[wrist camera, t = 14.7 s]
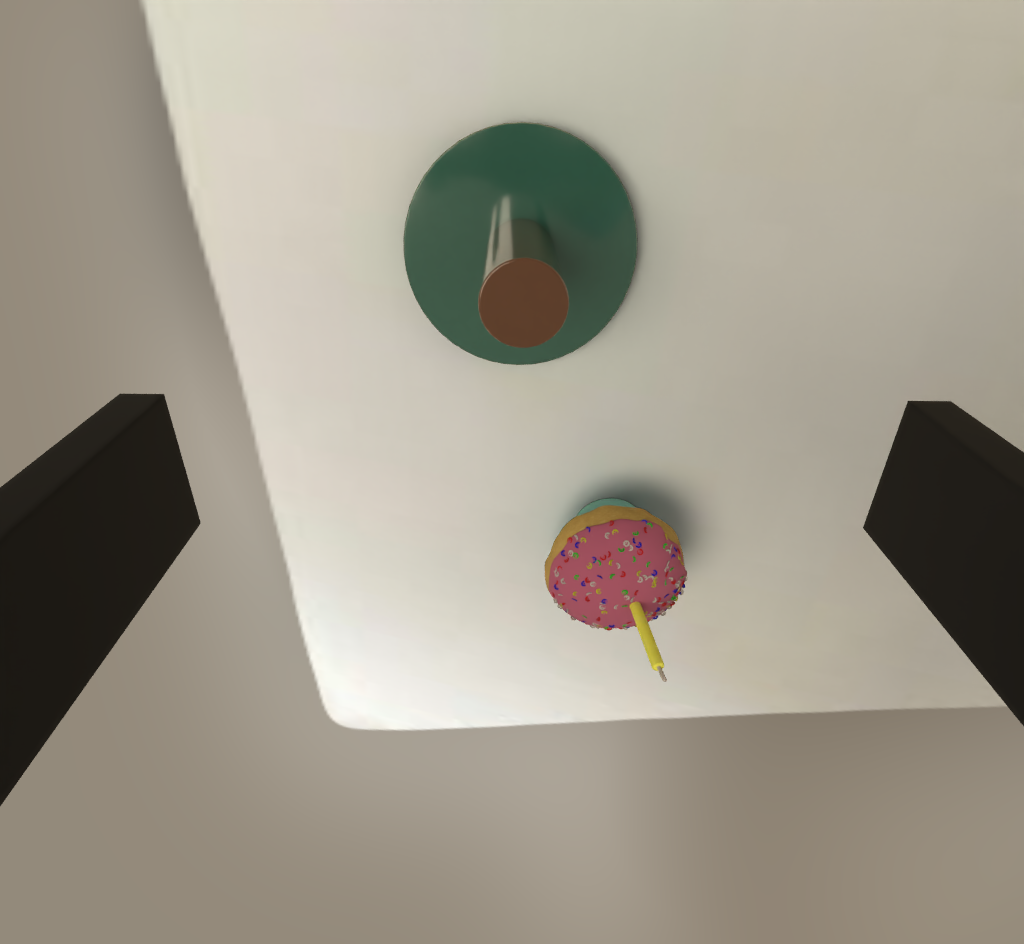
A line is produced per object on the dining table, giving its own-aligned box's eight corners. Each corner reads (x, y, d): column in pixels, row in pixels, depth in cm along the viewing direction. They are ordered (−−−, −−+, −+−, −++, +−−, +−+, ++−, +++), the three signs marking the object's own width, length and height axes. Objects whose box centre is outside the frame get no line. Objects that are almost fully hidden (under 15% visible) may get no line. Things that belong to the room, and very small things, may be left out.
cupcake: (696, 516, 43) (755, 650, 33) (613, 595, 46) (643, 739, 36) (596, 450, 40) (626, 573, 30) (516, 539, 44) (518, 677, 34)
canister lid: (622, 358, 37) (657, 440, 29) (414, 357, 37) (385, 439, 28) (645, 122, 31) (698, 134, 22) (397, 120, 31) (353, 132, 22)
